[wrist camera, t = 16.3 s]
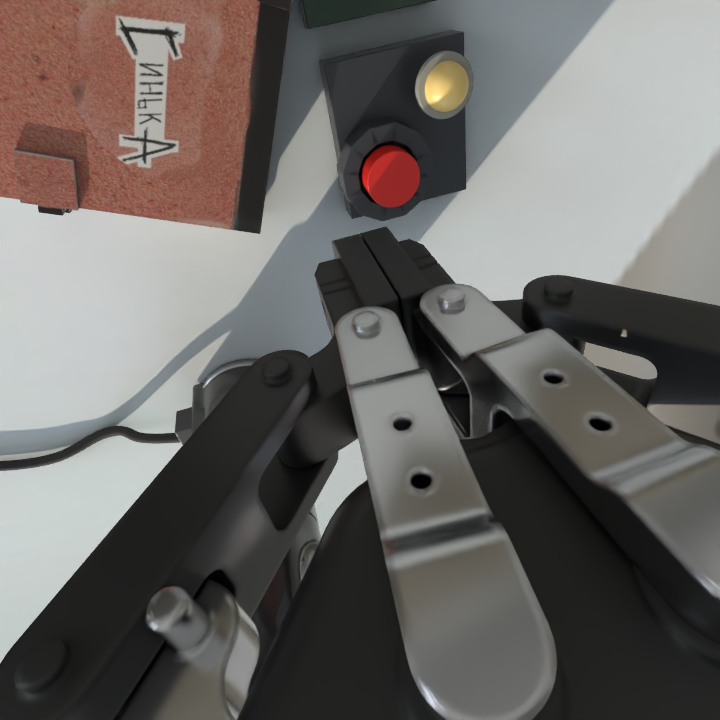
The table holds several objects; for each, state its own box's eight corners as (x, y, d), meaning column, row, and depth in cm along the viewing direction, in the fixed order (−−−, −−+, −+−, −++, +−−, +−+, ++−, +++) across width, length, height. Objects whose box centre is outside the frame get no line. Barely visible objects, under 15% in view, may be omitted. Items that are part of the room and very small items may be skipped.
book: (-167, 156, 30) (-223, 180, 26) (-319, -268, 20) (-445, -329, 16) (254, 220, 39) (259, 245, 35) (288, -53, 29) (300, -59, 25)
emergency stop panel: (341, 211, 40) (352, 230, 37) (312, 62, 33) (322, 69, 30) (456, 181, 41) (476, 197, 38) (452, 29, 34) (476, 33, 31)
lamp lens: (413, 120, 34) (427, 130, 32) (407, 56, 31) (423, 61, 29) (465, 108, 34) (483, 116, 32) (464, 43, 32) (483, 47, 29)
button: (365, 205, 36) (371, 213, 35) (357, 151, 34) (363, 158, 32) (414, 192, 37) (422, 200, 35) (410, 138, 34) (418, 144, 33)
